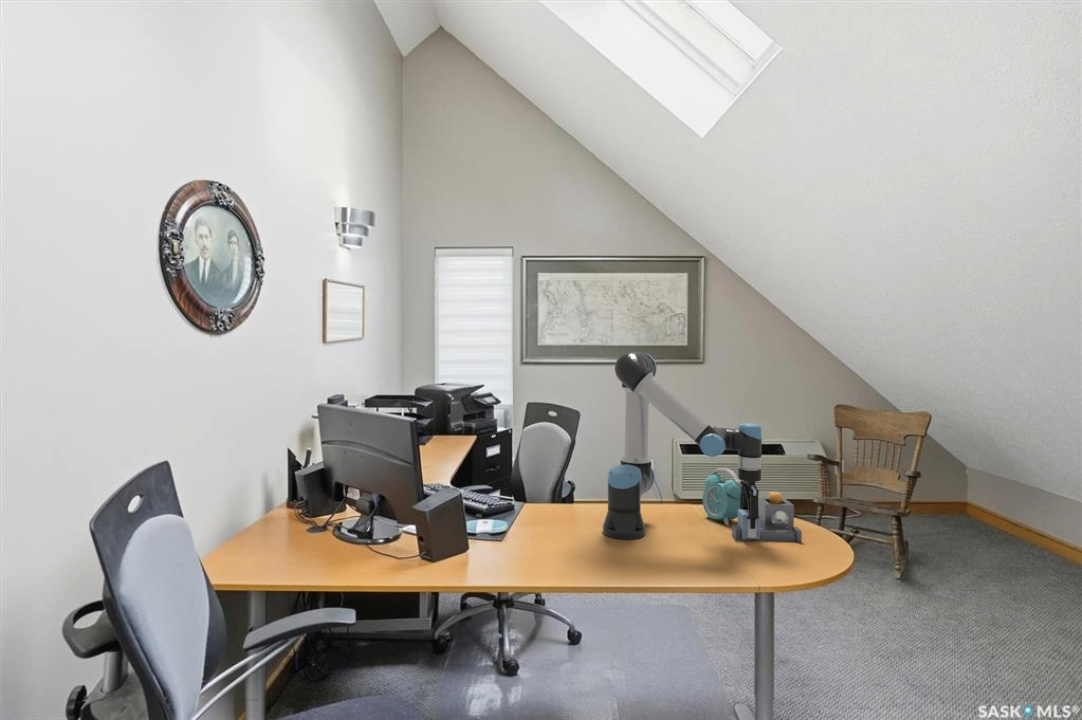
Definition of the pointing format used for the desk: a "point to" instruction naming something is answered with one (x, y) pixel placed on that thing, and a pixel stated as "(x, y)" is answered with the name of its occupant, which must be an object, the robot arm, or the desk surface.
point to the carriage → (743, 524)
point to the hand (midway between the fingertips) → (748, 533)
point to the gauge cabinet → (776, 514)
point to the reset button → (775, 497)
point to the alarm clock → (722, 496)
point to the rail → (771, 535)
